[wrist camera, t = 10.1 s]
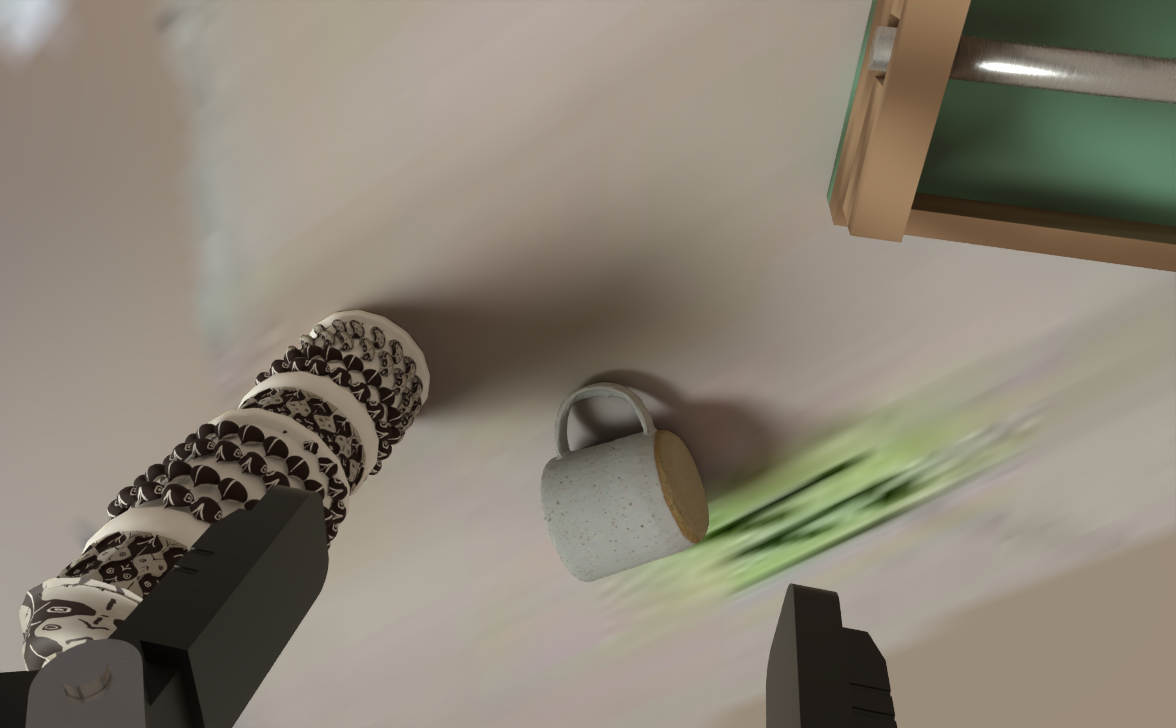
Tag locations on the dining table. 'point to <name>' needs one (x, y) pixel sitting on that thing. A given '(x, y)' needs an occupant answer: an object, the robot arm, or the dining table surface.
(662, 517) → the ceramic mug
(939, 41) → the foosball field
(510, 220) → the dining table surface
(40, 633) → the decorative candle
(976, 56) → the kicker rod
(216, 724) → the robot arm
